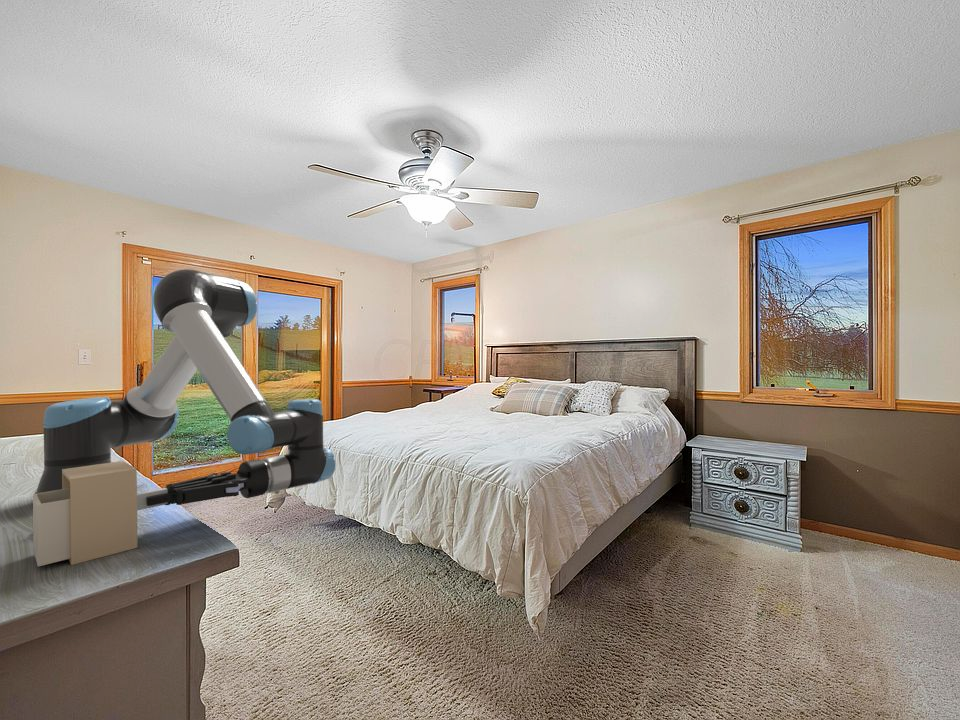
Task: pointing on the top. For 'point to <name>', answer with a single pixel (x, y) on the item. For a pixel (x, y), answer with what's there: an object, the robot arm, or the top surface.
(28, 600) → the top surface
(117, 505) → the sleeve
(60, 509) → the drawer box
